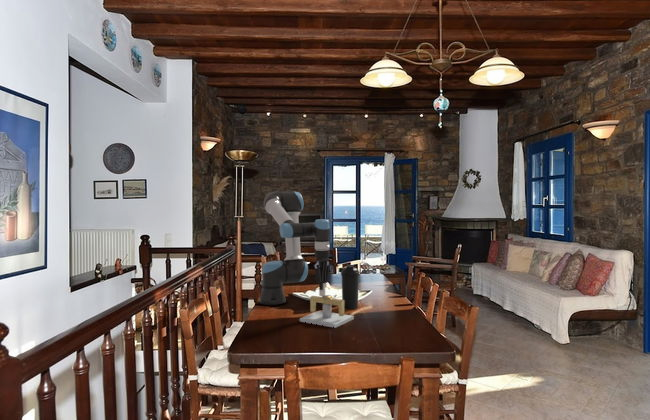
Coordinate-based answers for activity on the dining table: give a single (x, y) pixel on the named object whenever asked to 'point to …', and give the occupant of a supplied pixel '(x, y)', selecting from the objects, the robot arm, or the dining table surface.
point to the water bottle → (350, 286)
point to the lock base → (328, 320)
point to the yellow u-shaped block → (326, 300)
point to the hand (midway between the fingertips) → (322, 295)
